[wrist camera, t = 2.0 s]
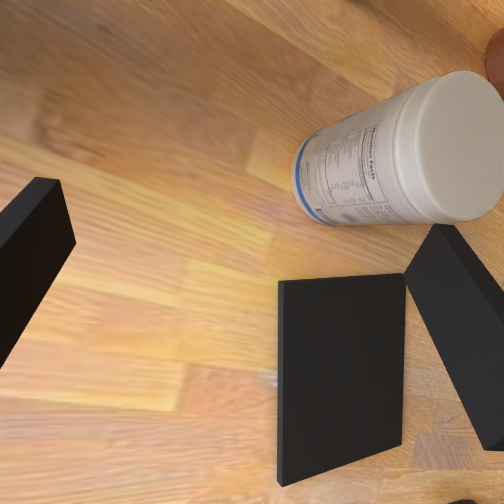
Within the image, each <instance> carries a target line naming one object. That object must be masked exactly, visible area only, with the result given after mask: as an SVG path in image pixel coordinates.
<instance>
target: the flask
mask: <svg viewBox="0 0 504 504" xmlns="http://www.w3.org/2000/svg"><path fill="white" fill-rule="evenodd" d="M450 504H477V503H475V502H474V501H472V500H460V501H458V502H453V503H450Z"/></svg>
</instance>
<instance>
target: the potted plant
mask: <svg viewBox="0 0 504 504" xmlns="http://www.w3.org/2000/svg"><path fill="white" fill-rule="evenodd" d="M486 70H487V76H488V79H489V82H490V83H491V84H492V85H493V87H494V88H495V89H496V90H497V92H498V93H499V95H500V96H501V98H504V28H503V29H501V30H500V31H498V32H497V33H496V34H494V35H493V37H492V39H491V40H490V42H489V45H488V49H487V52H486Z"/></svg>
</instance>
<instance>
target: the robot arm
mask: <svg viewBox="0 0 504 504" xmlns="http://www.w3.org/2000/svg"><path fill="white" fill-rule="evenodd" d="M75 245H76V240H75V236H74V232H73V229H72V225H71V221H70V217H69V214H68V210H67V206H66V202H65V198H64V195H63V191H62V187H61V183H60V180H58V179H50V178H41V177H34V179H33V180H32V181H31V182H30V183H29V184H28V185H27V186H26V187H25V188H24V189H23V190H22V191H21V192H20V193H19V194H18V195H17V196H16V197H15V198H14V199H13V200H12V201H11V202H10V203H9V204H8V205H7V206H6V207H5V208H4V209H3V210H2V212H1V213H0V369H1V367H2V366H3V364H4V362H5V361H6V359H7V357H8V356H9V354H10V352H11V351H12V349H13V347H14V346H15V344H16V342H17V341H18V339H19V337H20V336H21V334H22V332H23V331H24V329H25V327H26V326H27V324H28V323H29V321H30V319H31V318H32V316H33V314H34V313H35V311H36V309H37V308H38V306H39V304H40V303H41V301H42V299H43V298H44V296H45V294H46V293H47V291H48V289H49V288H50V286H51V284H52V283H53V281H54V280H55V278H56V276H57V275H58V273H59V271H60V270H61V268H62V266H63V265H64V263H65V261H66V260H67V258H68V256H69V255H70V253H71V251H72V250H73V248H74V246H75ZM403 278H404V280H405V283H406V285H407V287H408V289H409V291H410V293H411V295H412V297H413V300H414V302H415V304H416V306H417V308H418V310H419V312H420V315H421V317H422V319H423V321H424V323H425V325H426V327H427V329H428V332H429V334H430V336H431V338H432V340H433V342H434V344H435V346H436V349H437V351H438V353H439V355H440V357H441V359H442V361H443V364H444V366H445V368H446V370H447V372H448V374H449V376H450V378H451V381H452V383H453V385H454V387H455V389H456V391H457V393H458V396H459V398H460V400H461V402H462V404H463V406H464V408H465V410H466V413H467V415H468V417H469V419H470V421H471V423H472V425H473V427H474V430H475V432H476V434H477V436H478V438H479V440H480V442H481V445H482V447H483V449H484V450H487V451H504V291H503V290H502V289H501V287H500V286H499V285H498V283H497V282H496V281H495V279H494V278H493V277H492V275H491V274H490V273H489V271H488V270H487V269H486V267H485V266H484V265H483V263H482V262H481V261H480V259H479V258H478V257H477V255H476V254H475V253H474V251H473V250H472V249H471V247H470V246H469V245H468V243H467V242H466V240H465V239H464V238H463V236H462V235H461V234H460V232H459V231H458V230H457V228H456V227H455V226H454V225H447V224H438V223H434V225H433V226H432V228H431V230H430V231H429V233H428V235H427V236H426V238H425V239H424V241H423V243H422V244H421V246H420V248H419V249H418V251H417V253H416V254H415V256H414V258H413V259H412V261H411V262H410V264H409V266H408V267H407V269H406V271H405V272H404V274H403Z"/></svg>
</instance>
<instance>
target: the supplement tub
mask: <svg viewBox="0 0 504 504" xmlns="http://www.w3.org/2000/svg"><path fill="white" fill-rule="evenodd" d="M291 187H292V191H293V194H294V197H295V199H296V201H297V203H298V205H299V207H300V208H301V209H302V211H303V212H304V213H305V214H306V215H307V216H308V217H310V218H311V219H312V220H314V221H316V222H318V223H320V224H324V225H328V226H357V225H423V224H434V223H438V224H450V223H456V222H463V221H472V220H476V219H478V218H481V217H483V216H484V215H486V214H487V213H488V212H490V211H491V210H492V209H493V208H494V207H495V205H496V204H497V203H498V201H499V200H500V199H501V197H502V195H503V193H504V102H503V100H502V98H501V96H500V95H499V93H498V92H497V90H496V89H495V88H494V87H493V85H492V84H491V83H490V82H489V81H488V80H486V79H485V78H484V77H482V76H480V75H479V74H476V73H474V72H471V71H464V70H460V71H454V72H451V73H448V74H446V75H443V76H441V77H436V78H432V79H430V80H427V81H425V82H423V83H420V84H418V85H416V86H414V87H412V88H410V89H407V90H405V91H403V92H401V93H399V94H397V95H394V96H392V97H390V98H388V99H386V100H384V101H382V102H379V103H377V104H375V105H373V106H371V107H369V108H366V109H364V110H362V111H360V112H358V113H356V114H354V115H351V116H349V117H347V118H345V119H343V120H341V121H338V122H336V123H334V124H332V125H330V126H327V127H325V128H323V129H321V130H319V131H317V132H315V133H313V134H311V135H310V136H309V137H307V138H306V139H305V140H304V141H303V142H302V143H301V145H300V146H299V147H298V149H297V151H296V153H295V155H294V158H293V161H292V166H291Z"/></svg>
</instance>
